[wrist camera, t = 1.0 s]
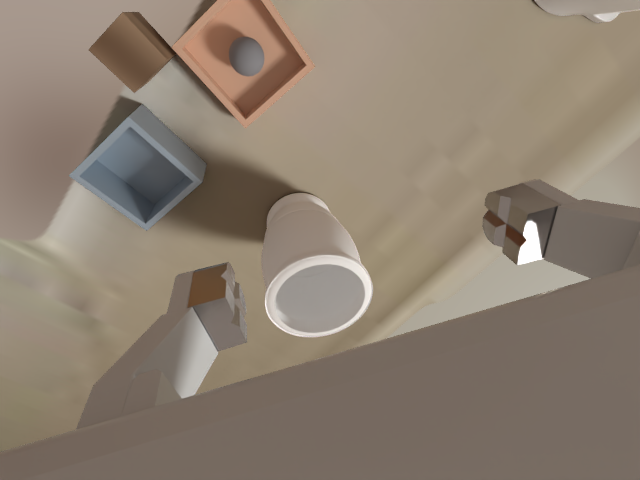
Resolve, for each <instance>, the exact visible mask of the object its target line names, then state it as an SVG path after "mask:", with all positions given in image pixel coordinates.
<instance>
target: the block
mask: <svg viewBox="0 0 640 480" xmlns="http://www.w3.org/2000/svg"><path fill="white" fill-rule="evenodd" d="M89 51H90V52H91V53H93V55H95V56H96V57H97V58H98V59H99V60H100V61H101V62H102V63H103V64H104V65H105V66H106V67H107V68H108V69H109V70H110V71H111V72H113V73H114V74H115V75H116V76H117V77H118V78H119V79H120V80H121V81H122V82H123V83H124V84H125V85H126V86H127V87H129V88H130V89H131V90H132V91H133V92H134V93H135V92H136V91H137V90H139V89H140V88H141V87H143V86H144V85H145V84H147V83H148V82H149V81H150V80H151V79H152V78H153V77H154V76H155V75H156V74H157V73H158V72H159V71H160V70H161V69H162V68H163V67H164V66H165V65H166V64H167V63H168V62H169V61H170V60H171V59H172V58H173V57H174V56H175V55H176V54H177V53H176V52H175V51H174V50H173V49H172V48H171V47H170V46H169V45H168V44H167V43H166V41H165V40H164V39H163V38H162V37H161V36H160V35H159V34H158V33H157V31H156V30H155V29H154V28H153V27H152V26H151V25H150V24H149V23H148V22H147V21H146V20H145V18H144V17H143V16H142V15H141V14H140V13H139V12H123V13H122V14H120V16H119V17H118V18H117V19H116V20H115V21H114V22H113V23H112V24H111V25H110V27H109V28H108V29H107V30H106V31H105V32H104V33H103V34H102V35H101V37H100V38H99V39H98V40H97V41H96V42H95V43H94V44H93V45H92V46H91V48H90V49H89Z"/></svg>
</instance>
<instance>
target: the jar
mask: <svg viewBox="0 0 640 480" xmlns="http://www.w3.org/2000/svg"><path fill="white" fill-rule="evenodd" d="M262 273H263V278H264V282H265V286H266V292H265V307H266V311H267V314H268V316H269V318H270V319H271V321H272V322H273V323H274V324H275V325H276V326H277V327H278V328H280V329H281V330H283V331H285V332H287V333H289V334H292V335H296V336H301V337H321V336H326V335H330V334H334V333H336V332H339V331H341V330H343V329H345V328H347V327H349V326H350V325H352V324H353V323H355V322H356V321H357V320H358V319H359V318H360V317H361V316H362V315H363V314H364V313H365V311H366V310H367V308H368V306H369V304H370V302H371V299H372V295H373V285H372V281H371V278H370V276H369V273H368V272H367V270H366V269H365V267H364V266H363V265H362V264H361V261H360V257H359V254H358V251H357V248H356V246H355V244H354V242H353V240H352V238H351V236H350V235H349V233H348V232H347V231H346V229H345V228H344V227H343V226H342V225H341V224H340V223H339V221H338V220H337V219H336V218H335V216H334V215H333V214H332V213H330V211H329V209H328V207H327V206H326V204H325V203H324V202H323V201H322V200H321V199H319V198H318V197H316V196H314V195H311V194H307V193H294V194H290V195H287V196H285V197H283V198H281V199H279V200H278V201H277V202H276V203H275V204H274V205H273V206H272V207H271V209H270V211H269V213H268V216H267V230H266V233H265V238H264V244H263V249H262Z"/></svg>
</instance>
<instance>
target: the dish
mask: <svg viewBox="0 0 640 480" xmlns="http://www.w3.org/2000/svg"><path fill="white" fill-rule="evenodd" d="M239 37H250V38H253V39H254V40H256V41H257V42H258V43H259V44H260V46H261V47H262V49H263V52H264V65H263V67H262V69H261V71H260V72H259V73H257V74H256V75H254V76H243V75H241V74H239V73H237V72H236V71H235V70H234V69H233V67H232V65H231V63H230V60H229V49H230V46H231V44H232V43H233V41H234V40H236V39H237V38H239ZM172 49H173V50H174V51H175V52H176V53H177V54H178V55H179V56H180V57H181V58H182V59H183V61H184V62H185V63H186V64H187V65H188V66H189V67H190V68H191V69H192V70H193V72H194V73H195V74H196V75H197V76H198V77H199V78H200V79H201V80H202V81H203V83H204V84H205V85H206V86H207V87H208V88H209V89H210V90H211V91H212V92H213V93H214V95H215V96H216V97H217V98H218V99H219V100H220V101H221V102H222V103H223V104H224V106H225V107H226V108H227V109H228V110H229V111H230V112H231V113H232V114H233V115H234V116H235V118H236V119H237V120H238V121H239V122H240V123H241V124H242V125H243V126H244V127H245V128H247V127H248V126H249V125H250V124H251V123H252V122H253V121H254V120H256V119H257V118H258V117H259V116H260V115H261V114H262V113H263V112H265V111H266V110H267V109H268V108H269V107H270V106H271V105H273V104H274V103H275V102H276V101H277V100H278V99H279V98H280V97H282V96H283V95H284V94H285V93H286V92H287V91H288V90H289V89H291V88H292V87H293V86H294V85H295V84H296V83H297V82H298V81H300V80H301V79H302V78H303V77H304V76H305V75H306V74H308V73H309V72H310V71H311V70H312V69H313V68H314V67H315V65H314V64H313V62H312V61H311V59H310V58H309V56H308V55H307V53H306V52H305V51H304V49H303V48H302V46H301V45H300V43H299V42H298V40H297V39H296V37H295V36H294V34H293V33H292V31H291V30H290V29H289V27H288V26H287V24H286V23H285V21H284V20H283V18H282V17H281V15H280V14H279V12H278V11H277V9H276V8H275V7H274V5H273V4H272V2H271V1H270V0H217V1H216V2H215V3H214V4H213V5H212V6H211V7H210V8H209V9H208V10H207V11H206V12H205V13H204V14H203V15H202V16H201V17H200V18H199V19H198V20H197V21H196V22H195V23H194V24H193V25H192V27H191V28H190V29H189V30H188V31H187V32H186V33H185V34H184V35H183V36H182V37H181V38H180V39H179V40H178V41H177V42H176V43H175V44H174V45H173V46H172Z"/></svg>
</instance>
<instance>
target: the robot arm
mask: <svg viewBox="0 0 640 480" xmlns="http://www.w3.org/2000/svg"><path fill="white" fill-rule="evenodd" d="M534 1H535V2H536V3H537V4H538V5H539V6H540V7H541V8H542V9H543V10H545V11H547V12H549V13H551V14H554V15H560V16H569V15H584V16H585V17H587V18H588V19H590V20H592V21H594V22H597V23H602V22H609V21H611V20H613V19H614V18H615V17H617V16H618V15H619V14H620V13H621V12H628V11H637V10H640V0H534ZM485 206H486V208H487V209H488V211H487V213H486V214H485V215H484V217H483V230H484V233H485V235H486V237H487V239H488V240H489V241H490V242H491V243H492V244H494V245H497V246H500V247H503V253H504V254H505V255H506V256H507V257H508V258H509V259H511V260H512V261H513V262H514V263H515V264H516V265H520V264H524V263H528V262H531V261H535V260H539V259H544V260H546V261H548V262H551V263H553V264H556V265H559V266H561V267H563V268H566V269H568V270H571V271H573V272H576V273H578V274H581V275H584V276H586V277H589V278H591V279H589V280H586V281H582V282H579V283H576V284H572V285H568V286H565V287H562V288H558V289H555V290H551V291H548V292H544V293H541V294H538V295H534V296H531V297H527V298H524V299H521V300H517V301H514V302H510V303H506V304H503V305H500V306H496V307H493V308H490V309H486V310H483V311H479V312H476V313H472V314H469V315H465V316H462V317H459V318H456V319H452V320H448V321H445V322H442V323H439V324H435V325H431V326H428V327H425V328H421V329H418V330H414V331H411V332H408V333H404V334H401V335H397V336H394V337H391V338H387V339H384V340H380V341H377V342H374V343H370V344H367V345H363V346H360V347H357V348H353V349H350V350H346V351H343V352H340V353H336V354H333V355H329V356H326V357H323V358H319V359H316V360H312V361H309V362H305V363H302V364H299V365H295V366H292V367H288V368H285V369H282V370H278V371H275V372H271V373H268V374H265V375H261V376H258V377H254V378H251V379H247V380H244V381H241V382H237V383H234V384H230V385H227V386H224V387H220V388H217V389H213V390H210V391H207V392H203V393H200V394H196V395H195V393H196V391H197V389H198V388H199V386H200V384H201V382H202V381H203V379H204V377H205V375H206V374H207V372H208V370H209V368H210V367H211V365H212V363H213V361H214V360H215V358H216V356H217V354H218V351H221V350H224V349H227V348H230V347H234V346H237V345H240V344H243V343H246V342H247V325H246V322H245V320H244V318H243V317H244V316H245V314H246V305H245V299H244V295H243V292H242V289H241V287H240V284H239V283H237V282H235V273H234V270H233V268H232V266H231V264H230V263H229V262H227V263H223V264H219V265H214V266H210V267H206V268H202V269H198V270H195V271H190V272H187V273H183V274H179V275H178V276H176V278H175V282H174V286H173V290H172V294H171V298H170V303H169V307H168V311H167V314H165V315H161V316H160V317H159V319H158V320H157V321H156V322H155V323H154V324H153V325H152V326H151V327H150V328H149V329H148V330H147V331H146V332H145V333H144V334H143V335H142V336H141V337H140V338H139V339H138V340H137V341H136V342H135V343H134V344H133V345H132V346H131V347H130V348H129V349H128V350H127V351H126V352H125V354H124V355H123V356H122V357H121V358H120V359H119V360H118V361H117V362H116V363H115V364H114V365H113V366H112V367H111V368H110V369H109V370H108V371H107V372H106V373H105V374H104V375H103V376H102V377H101V378H100V379H99V380H98V381H97V382H96V383H95V384H94V385H93V388H92V390H91V393H90V395H89V398H88V400H87V403H86V405H85V408H84V410H83V413H82V416H81V418H80V421H79V423H78V426H77V428H76V430H73V431H70V432H66V433H63V434H59V435H56V436H53V437H49V438H46V439H42V440H39V441H35V442H32V443H29V444H25V445H22V446H18V447H15V448H12V449H8V450H5V451H1V452H0V480H640V208H636V207H629V206H623V205H617V204H610V203H604V202H598V201H592V200H585V199H584V200H577V199H575V198H573V197H572V196H570V195H568V194H566V193H564V192H562V191H560V190H558V189H556V188H554V187H553V186H551V185H549V184H547V183H545V182H543V181H541V180H536V179H533V180H530V181H527V182H523V183H520V184H518V185H514V186H511V187H507V188H504V189H500V190H497V191H493V192H490V193H488V194H487V196H486V199H485Z"/></svg>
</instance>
